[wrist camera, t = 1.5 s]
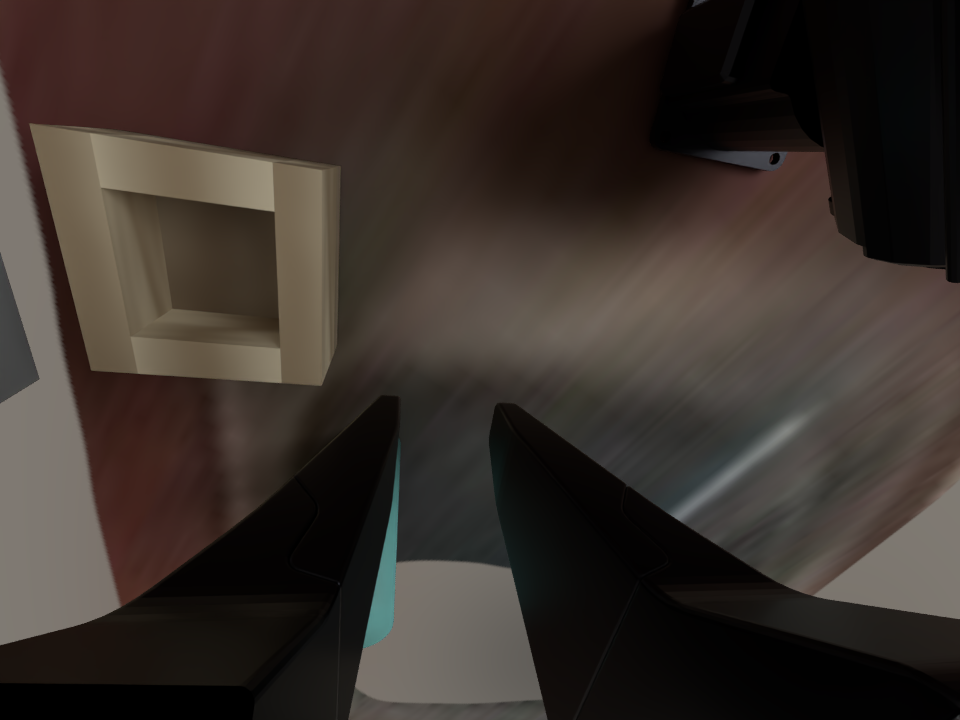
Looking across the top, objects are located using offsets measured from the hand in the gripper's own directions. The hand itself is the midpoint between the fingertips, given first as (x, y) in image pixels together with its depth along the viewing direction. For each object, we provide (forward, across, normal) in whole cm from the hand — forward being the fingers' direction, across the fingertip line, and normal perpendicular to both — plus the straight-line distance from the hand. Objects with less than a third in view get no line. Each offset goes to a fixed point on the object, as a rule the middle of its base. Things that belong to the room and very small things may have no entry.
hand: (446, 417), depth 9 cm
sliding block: (+12, +8, 0) cm, 14 cm away
